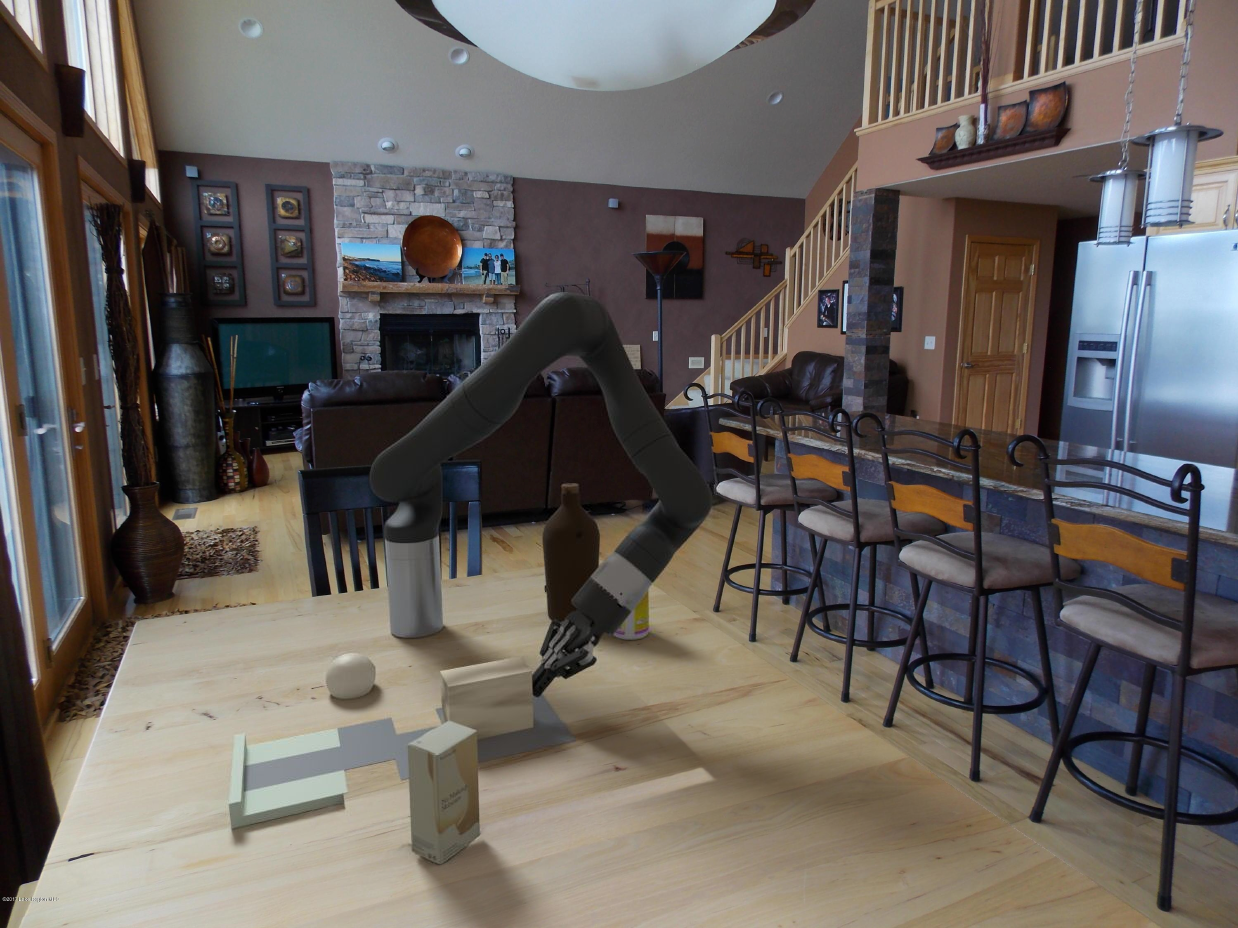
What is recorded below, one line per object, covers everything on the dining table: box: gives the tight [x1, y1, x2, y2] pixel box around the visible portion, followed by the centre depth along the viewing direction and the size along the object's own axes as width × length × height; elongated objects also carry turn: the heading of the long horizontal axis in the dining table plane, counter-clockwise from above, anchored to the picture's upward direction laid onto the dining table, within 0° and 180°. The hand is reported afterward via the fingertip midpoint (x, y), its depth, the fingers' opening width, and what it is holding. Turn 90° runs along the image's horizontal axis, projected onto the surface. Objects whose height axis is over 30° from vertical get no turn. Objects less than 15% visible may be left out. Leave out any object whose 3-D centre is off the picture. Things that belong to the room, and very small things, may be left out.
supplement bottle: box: [612, 590, 650, 641], centre depth 139 cm, size 7×7×13 cm
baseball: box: [325, 652, 377, 700], centre depth 116 cm, size 7×7×7 cm
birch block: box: [439, 656, 533, 740], centre depth 105 cm, size 5×11×8 cm, turn 114°
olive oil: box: [541, 482, 601, 622], centre depth 147 cm, size 11×11×25 cm
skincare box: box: [408, 721, 481, 865], centre depth 83 cm, size 6×4×12 cm
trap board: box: [228, 693, 577, 830], centre depth 101 cm, size 16×40×3 cm, turn 113°
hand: (530, 692), depth 107 cm, fingers closed
